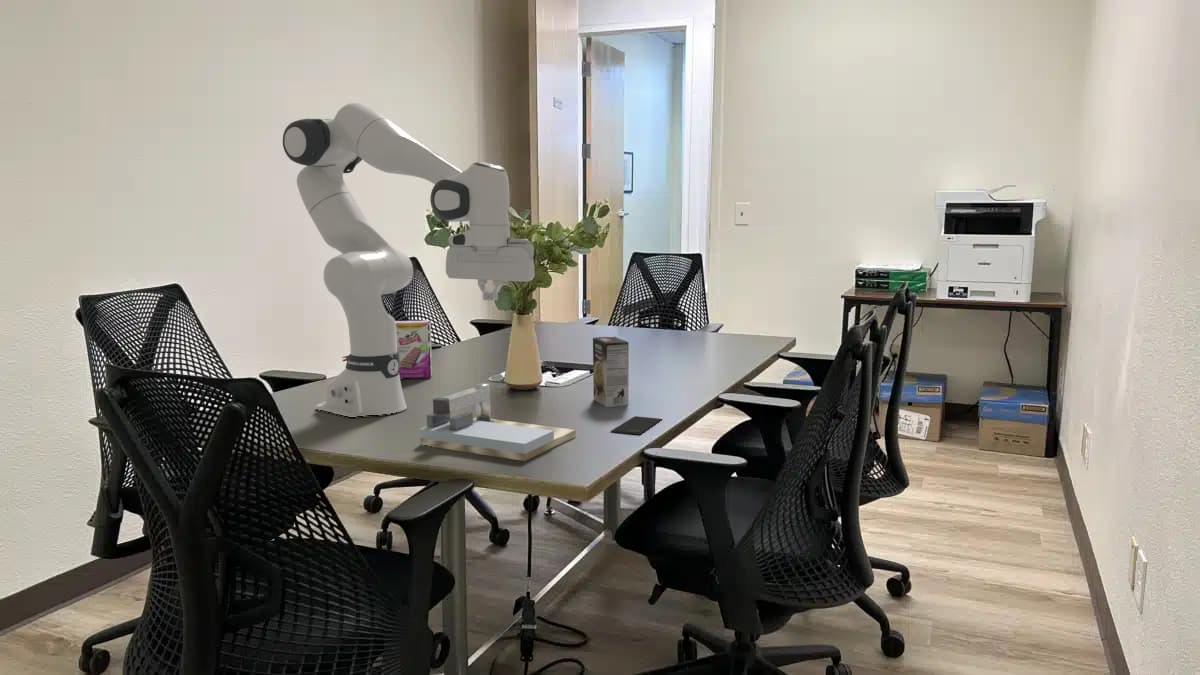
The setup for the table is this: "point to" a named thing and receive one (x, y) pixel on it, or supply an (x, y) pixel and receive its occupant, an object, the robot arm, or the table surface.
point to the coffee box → (610, 371)
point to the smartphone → (636, 426)
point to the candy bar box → (414, 349)
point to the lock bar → (466, 402)
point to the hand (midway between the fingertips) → (490, 300)
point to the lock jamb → (491, 436)
